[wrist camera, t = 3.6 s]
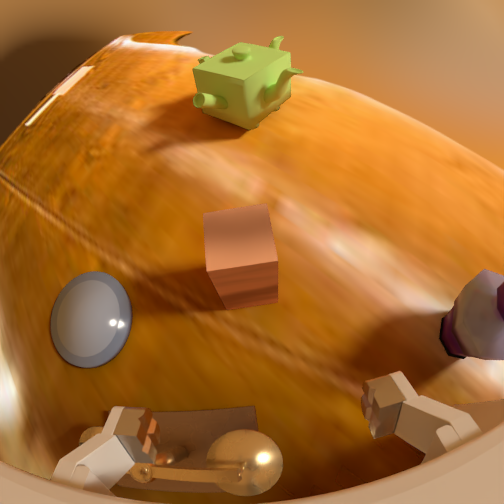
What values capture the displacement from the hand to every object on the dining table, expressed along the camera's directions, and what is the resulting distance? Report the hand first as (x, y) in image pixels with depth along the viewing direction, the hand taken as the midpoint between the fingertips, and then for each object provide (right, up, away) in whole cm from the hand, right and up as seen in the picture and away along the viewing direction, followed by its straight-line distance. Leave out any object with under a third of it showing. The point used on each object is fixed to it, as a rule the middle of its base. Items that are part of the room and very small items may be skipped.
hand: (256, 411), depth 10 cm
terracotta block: (0, +3, +20) cm, 20 cm away
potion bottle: (+22, -3, +15) cm, 27 cm away
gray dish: (-18, -2, +19) cm, 26 cm away
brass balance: (-6, -12, +12) cm, 18 cm away
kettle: (0, +28, +34) cm, 44 cm away
